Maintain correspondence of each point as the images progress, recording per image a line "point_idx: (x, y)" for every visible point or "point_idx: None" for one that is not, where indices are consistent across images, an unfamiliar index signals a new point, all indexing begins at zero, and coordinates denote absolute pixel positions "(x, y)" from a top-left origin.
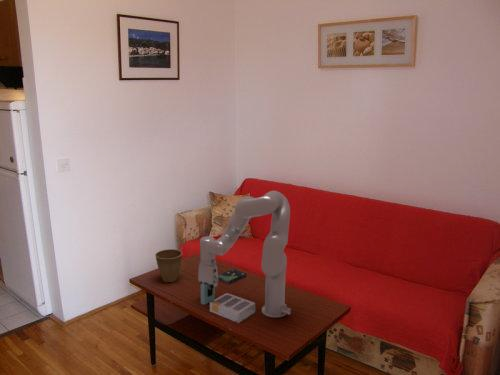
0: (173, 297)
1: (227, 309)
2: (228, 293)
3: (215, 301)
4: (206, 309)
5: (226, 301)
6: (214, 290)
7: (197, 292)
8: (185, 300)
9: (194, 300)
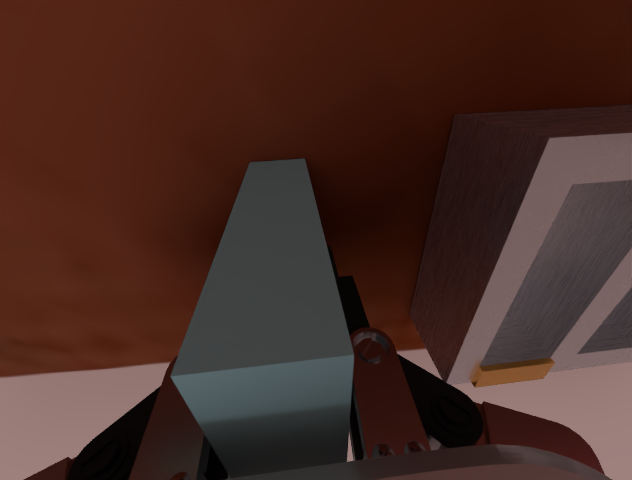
0: (36, 358)
1: (626, 358)
2: (586, 137)
3: (482, 350)
4: (371, 312)
5: (600, 302)
6: (315, 211)
7: (7, 171)
8: (143, 331)
9: (188, 293)
